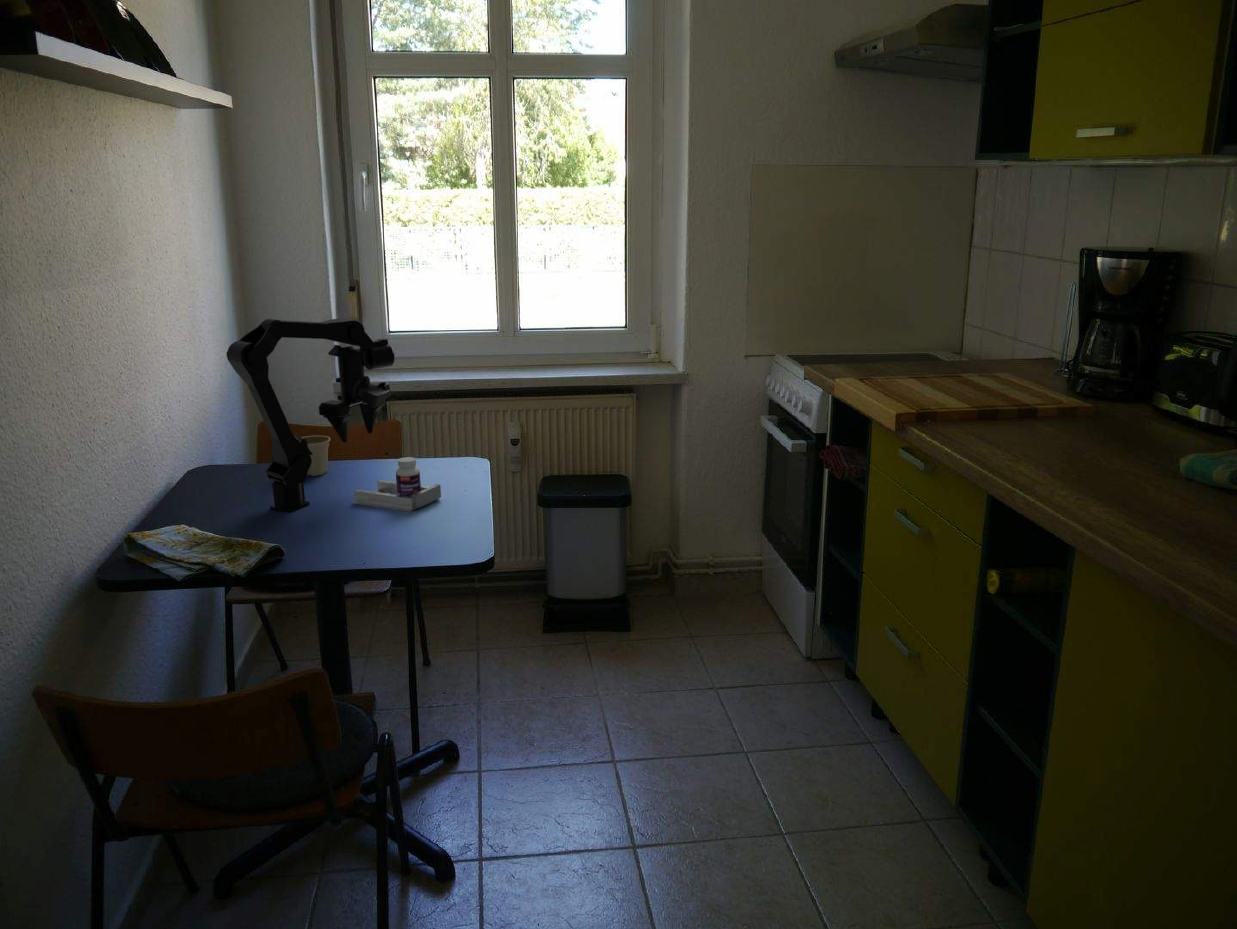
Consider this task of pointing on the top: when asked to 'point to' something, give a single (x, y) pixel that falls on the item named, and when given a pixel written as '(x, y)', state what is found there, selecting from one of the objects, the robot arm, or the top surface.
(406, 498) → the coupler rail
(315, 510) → the top surface
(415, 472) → the pill bottle
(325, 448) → the flower pot
